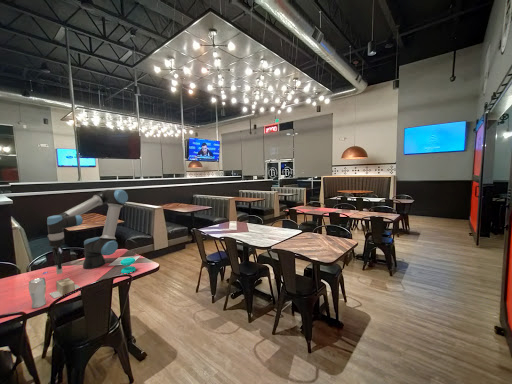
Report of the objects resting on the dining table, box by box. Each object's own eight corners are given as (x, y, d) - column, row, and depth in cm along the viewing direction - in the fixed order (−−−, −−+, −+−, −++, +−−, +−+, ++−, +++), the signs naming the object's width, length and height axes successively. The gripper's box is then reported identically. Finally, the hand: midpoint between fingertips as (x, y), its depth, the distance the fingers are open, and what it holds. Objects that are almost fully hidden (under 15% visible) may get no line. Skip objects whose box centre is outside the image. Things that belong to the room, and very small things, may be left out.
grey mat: (76, 284, 152) (76, 284, 152) (82, 288, 146) (82, 288, 146) (49, 294, 140) (49, 293, 140) (54, 298, 135) (54, 298, 135)
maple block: (67, 277, 148) (74, 282, 142) (68, 286, 149) (75, 291, 142) (56, 281, 143) (62, 286, 137) (56, 290, 144) (63, 295, 137)
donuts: (133, 261, 167) (118, 262, 164) (134, 273, 168) (119, 275, 165) (136, 256, 177) (122, 258, 174) (137, 268, 177) (122, 270, 174)
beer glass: (27, 307, 126) (25, 281, 125) (43, 300, 132) (41, 276, 131) (34, 309, 123) (32, 283, 122) (50, 303, 130) (48, 278, 129)
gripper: (45, 239, 147) (49, 273, 149) (52, 242, 140) (55, 278, 142) (60, 236, 154) (63, 269, 156) (67, 239, 146) (70, 273, 148)
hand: (59, 273), depth 149 cm, fingers closed
